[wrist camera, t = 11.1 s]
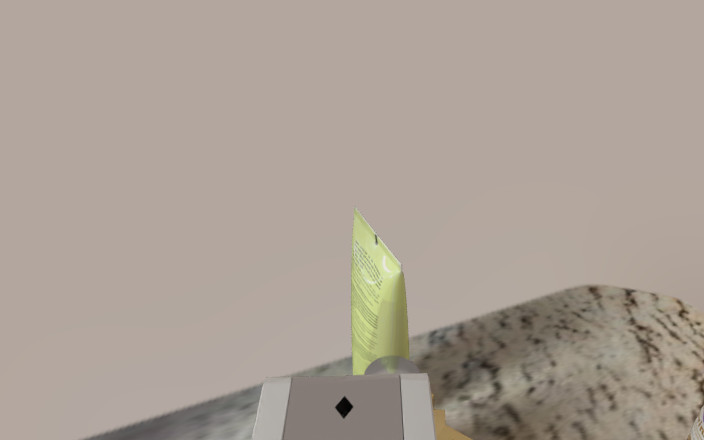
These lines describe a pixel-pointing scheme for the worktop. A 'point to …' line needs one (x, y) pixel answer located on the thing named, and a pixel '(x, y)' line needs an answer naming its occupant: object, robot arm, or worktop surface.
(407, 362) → the post
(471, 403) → the worktop surface
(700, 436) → the sprinkles bottle
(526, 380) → the worktop surface
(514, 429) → the worktop surface
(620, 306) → the worktop surface
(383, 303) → the tube
